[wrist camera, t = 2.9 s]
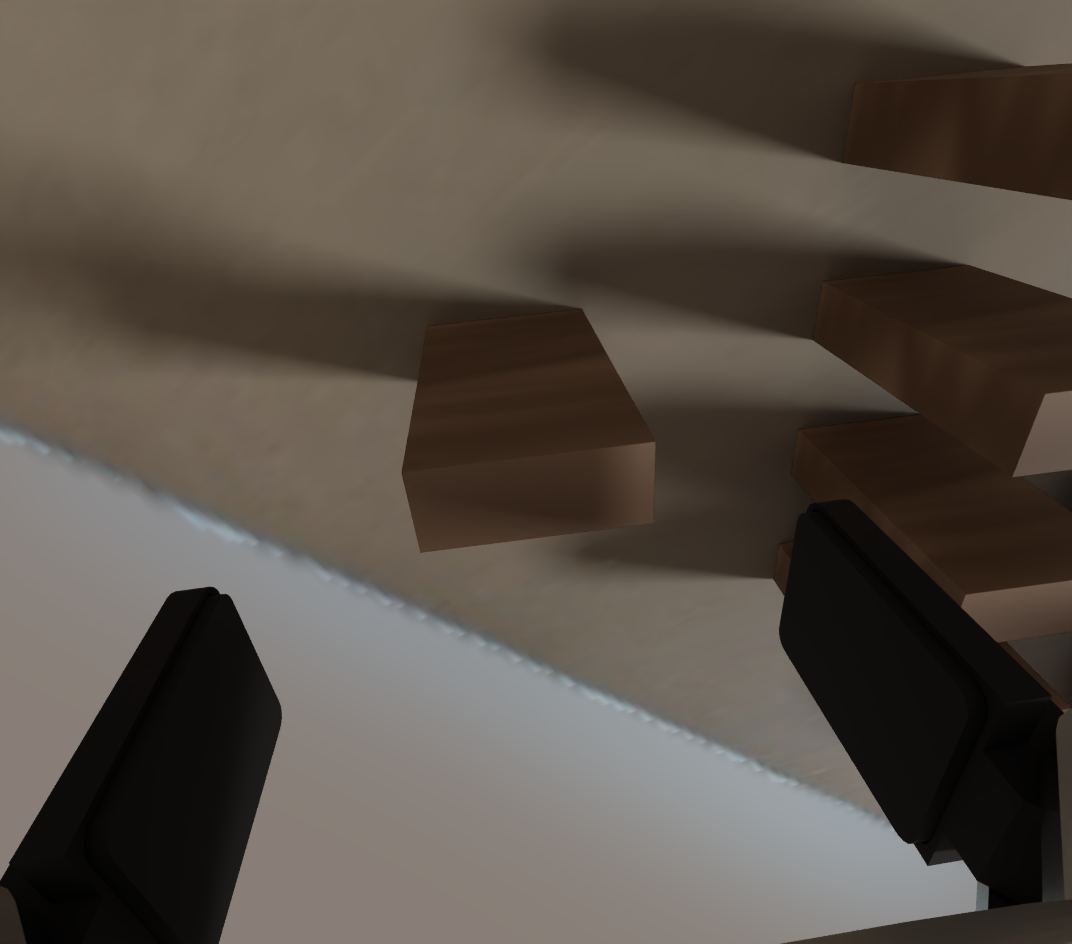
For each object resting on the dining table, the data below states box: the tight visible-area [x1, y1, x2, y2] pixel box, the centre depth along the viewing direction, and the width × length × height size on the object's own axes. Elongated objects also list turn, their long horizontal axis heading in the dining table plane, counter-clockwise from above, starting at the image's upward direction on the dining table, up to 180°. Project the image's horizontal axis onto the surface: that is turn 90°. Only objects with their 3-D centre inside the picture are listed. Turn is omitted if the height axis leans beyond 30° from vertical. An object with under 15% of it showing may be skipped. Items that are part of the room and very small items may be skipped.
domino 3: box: [813, 265, 1072, 477], centre depth 17 cm, size 2×5×9 cm, turn 95°
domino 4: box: [791, 414, 1072, 643], centre depth 20 cm, size 2×5×9 cm, turn 95°
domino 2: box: [842, 64, 1072, 200], centre depth 14 cm, size 2×5×9 cm, turn 94°
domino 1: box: [402, 309, 655, 553], centre depth 16 cm, size 2×5×9 cm, turn 95°
